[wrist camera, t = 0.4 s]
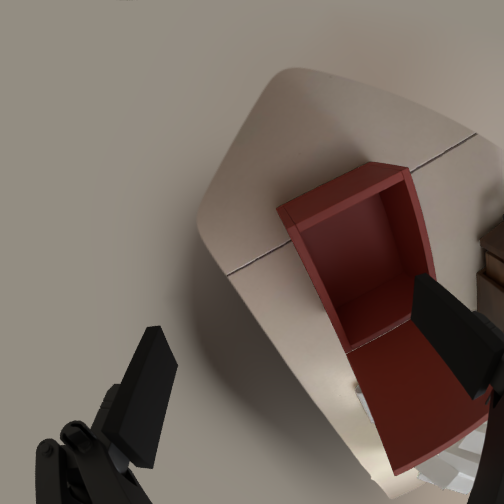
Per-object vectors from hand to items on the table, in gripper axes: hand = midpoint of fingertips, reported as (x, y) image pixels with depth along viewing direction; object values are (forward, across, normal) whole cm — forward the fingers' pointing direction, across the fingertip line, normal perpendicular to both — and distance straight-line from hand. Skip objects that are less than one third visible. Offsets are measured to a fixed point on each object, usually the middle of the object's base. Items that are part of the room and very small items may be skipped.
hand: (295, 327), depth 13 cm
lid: (+2, +10, -8) cm, 13 cm away
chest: (+17, +9, -3) cm, 20 cm away
